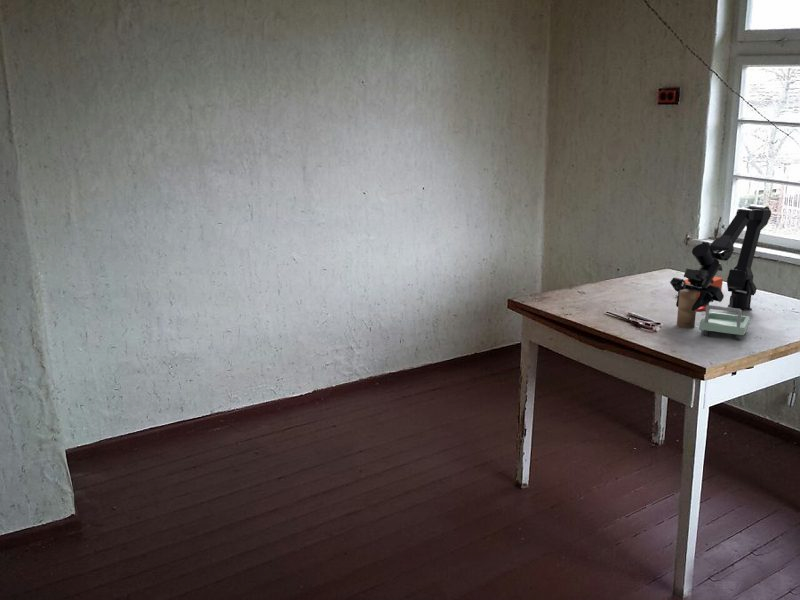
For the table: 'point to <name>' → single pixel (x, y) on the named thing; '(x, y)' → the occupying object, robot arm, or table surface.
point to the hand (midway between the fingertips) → (684, 308)
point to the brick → (716, 283)
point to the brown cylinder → (686, 308)
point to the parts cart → (724, 321)
